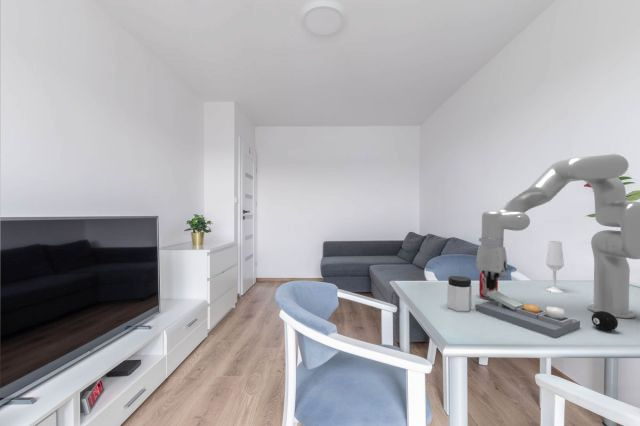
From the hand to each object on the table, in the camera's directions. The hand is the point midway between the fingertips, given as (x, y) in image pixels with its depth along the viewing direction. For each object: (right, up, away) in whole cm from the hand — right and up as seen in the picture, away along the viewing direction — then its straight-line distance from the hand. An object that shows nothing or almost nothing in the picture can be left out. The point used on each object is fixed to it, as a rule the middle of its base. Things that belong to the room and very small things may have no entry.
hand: (490, 288), depth 113 cm
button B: (+7, -5, -13) cm, 15 cm away
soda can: (+7, -8, +14) cm, 17 cm away
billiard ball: (+26, -9, -20) cm, 33 cm away
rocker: (+2, -3, -4) cm, 6 cm away
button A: (+10, -4, -19) cm, 22 cm away
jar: (-12, -8, +1) cm, 15 cm away
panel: (+6, -8, -10) cm, 14 cm away
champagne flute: (+46, -8, +25) cm, 53 cm away
